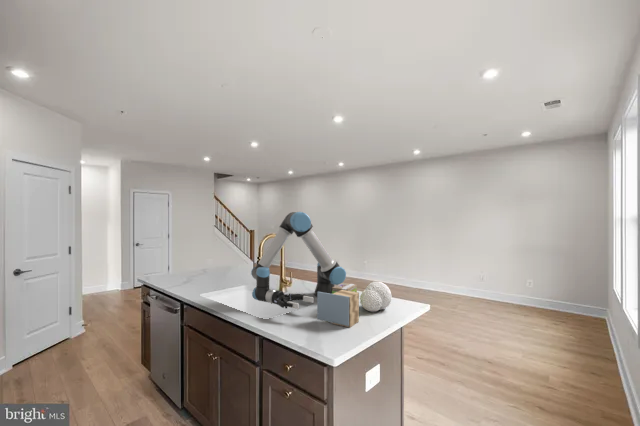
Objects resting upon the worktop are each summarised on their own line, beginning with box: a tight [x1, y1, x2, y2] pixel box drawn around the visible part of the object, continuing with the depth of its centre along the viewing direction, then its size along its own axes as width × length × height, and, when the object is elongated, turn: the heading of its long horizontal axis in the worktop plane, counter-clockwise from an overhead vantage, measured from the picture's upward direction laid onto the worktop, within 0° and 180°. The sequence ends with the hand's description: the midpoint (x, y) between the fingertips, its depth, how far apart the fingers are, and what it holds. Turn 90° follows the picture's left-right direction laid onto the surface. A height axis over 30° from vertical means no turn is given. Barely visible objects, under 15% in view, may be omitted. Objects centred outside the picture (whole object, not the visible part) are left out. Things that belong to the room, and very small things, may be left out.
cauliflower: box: [359, 281, 393, 313], centre depth 176 cm, size 20×18×16 cm
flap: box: [316, 292, 349, 326], centre depth 152 cm, size 1×18×14 cm, turn 58°
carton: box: [331, 290, 360, 328], centre depth 154 cm, size 10×10×15 cm
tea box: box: [332, 282, 358, 294], centre depth 172 cm, size 15×10×15 cm, turn 153°
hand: (306, 303), depth 160 cm, fingers open, 13 cm apart
